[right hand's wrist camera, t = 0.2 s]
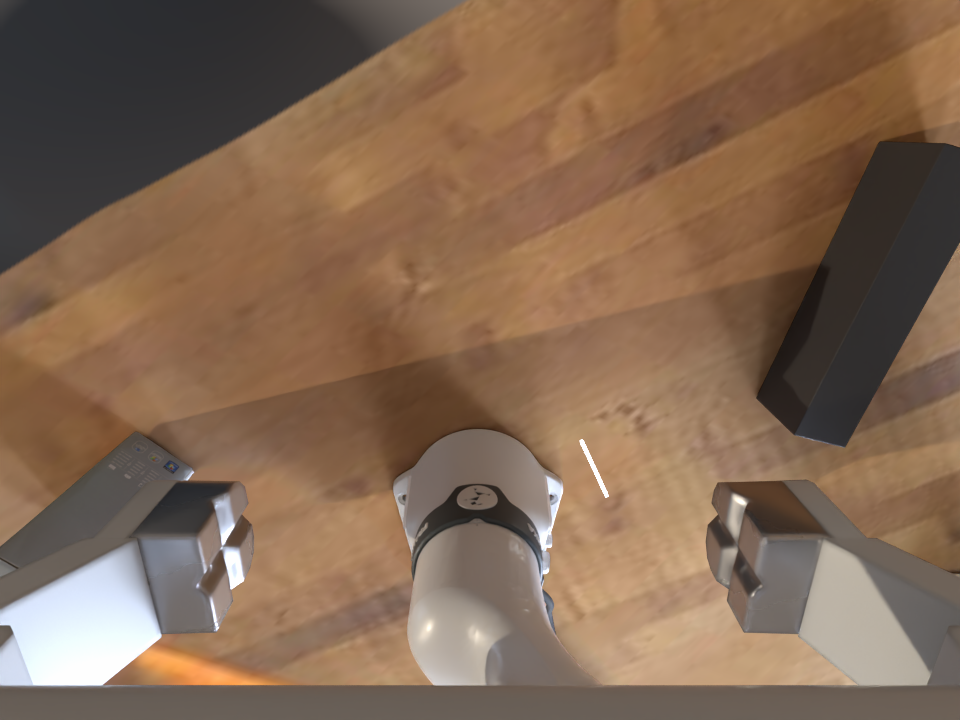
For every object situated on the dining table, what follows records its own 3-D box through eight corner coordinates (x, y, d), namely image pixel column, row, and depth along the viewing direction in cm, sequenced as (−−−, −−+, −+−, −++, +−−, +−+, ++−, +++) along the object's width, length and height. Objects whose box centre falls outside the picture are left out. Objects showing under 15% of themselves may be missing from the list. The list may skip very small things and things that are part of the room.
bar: (878, 141, 53) (945, 143, 45) (931, 157, 53) (1005, 161, 46) (755, 398, 62) (793, 435, 54) (801, 409, 62) (845, 448, 55)
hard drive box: (135, 427, 63) (-8, 551, 45) (197, 468, 65) (83, 604, 46) (66, 517, 67) (-92, 664, 49) (126, 553, 69) (-4, 709, 51)
